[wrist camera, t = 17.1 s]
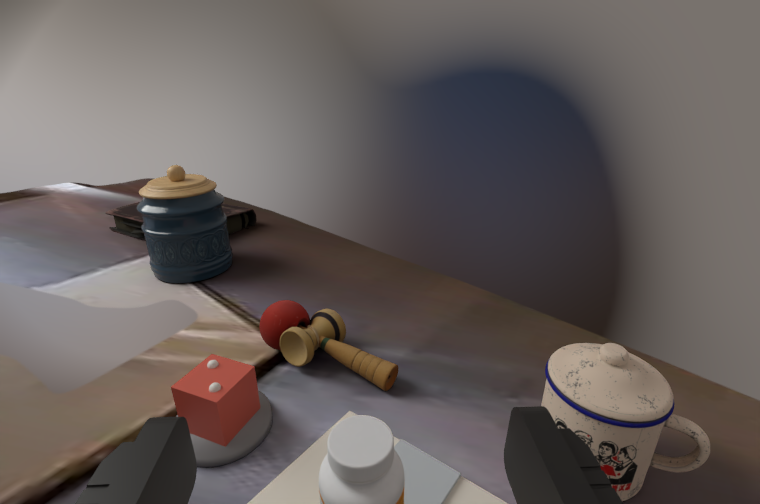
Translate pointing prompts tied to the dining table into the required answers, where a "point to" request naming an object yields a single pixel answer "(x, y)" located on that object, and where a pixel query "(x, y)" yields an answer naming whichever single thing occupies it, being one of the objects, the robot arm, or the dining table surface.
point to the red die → (222, 410)
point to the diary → (132, 220)
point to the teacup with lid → (618, 412)
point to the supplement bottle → (361, 464)
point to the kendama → (320, 341)
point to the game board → (421, 472)
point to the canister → (184, 227)
